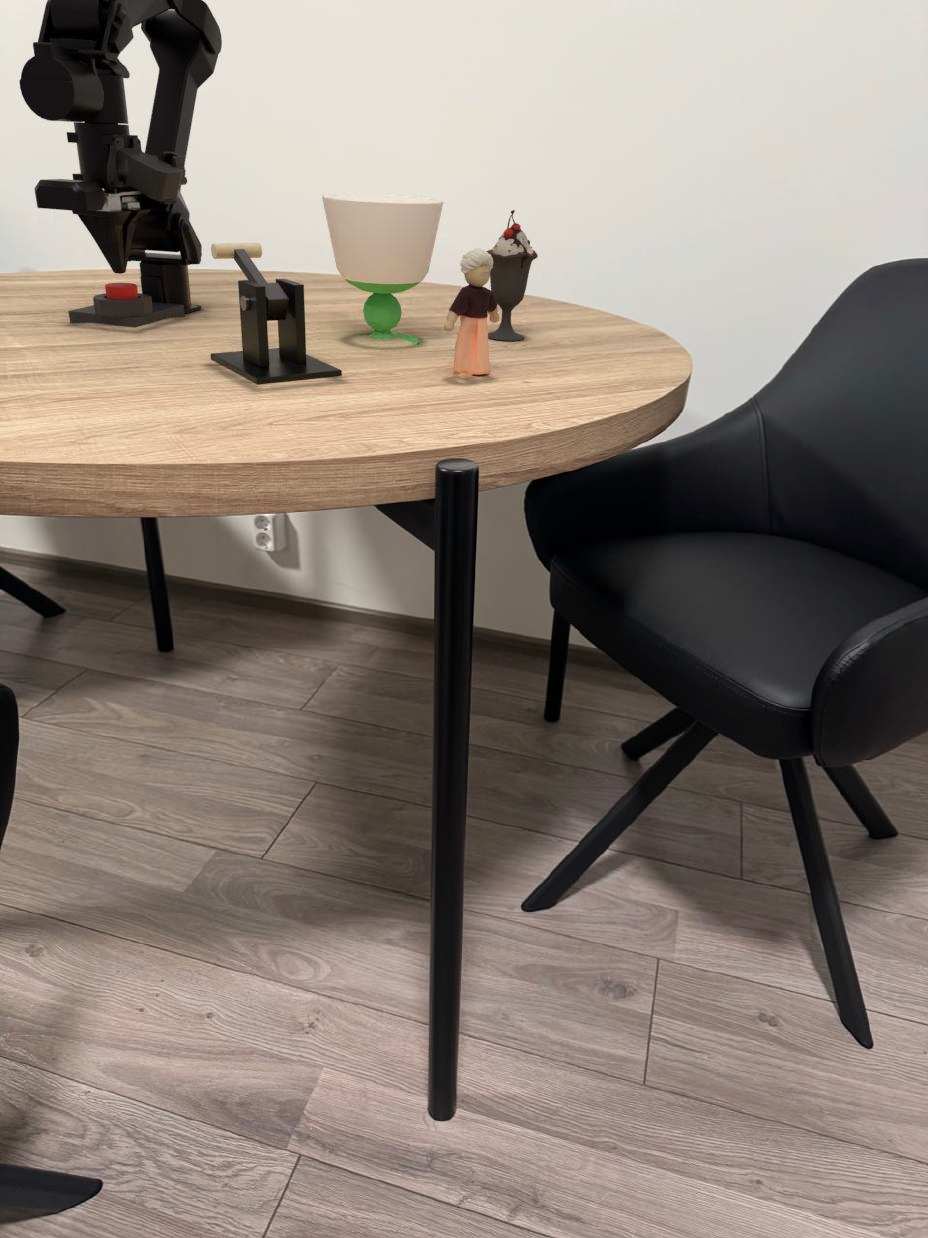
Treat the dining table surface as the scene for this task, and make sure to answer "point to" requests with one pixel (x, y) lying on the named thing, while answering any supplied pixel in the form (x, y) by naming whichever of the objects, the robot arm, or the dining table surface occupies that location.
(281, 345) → the switch bracket
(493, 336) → the sundae
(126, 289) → the power button
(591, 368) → the dining table surface
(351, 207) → the cup
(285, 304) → the lever
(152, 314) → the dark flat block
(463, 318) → the grandmother figurine
